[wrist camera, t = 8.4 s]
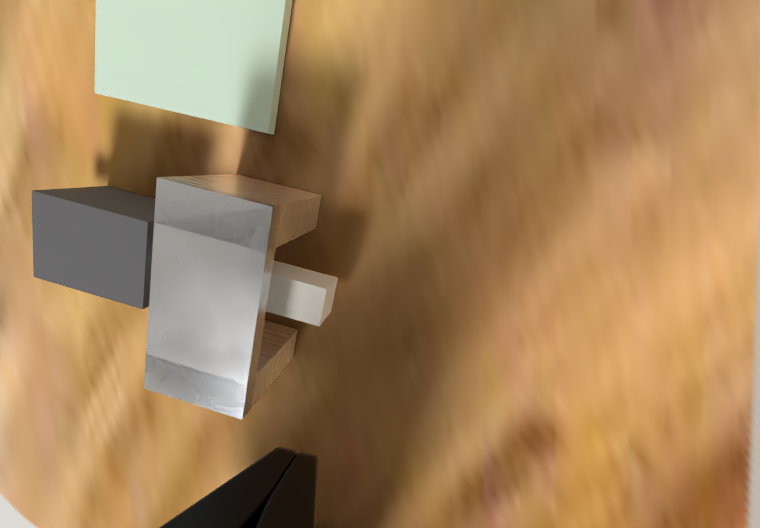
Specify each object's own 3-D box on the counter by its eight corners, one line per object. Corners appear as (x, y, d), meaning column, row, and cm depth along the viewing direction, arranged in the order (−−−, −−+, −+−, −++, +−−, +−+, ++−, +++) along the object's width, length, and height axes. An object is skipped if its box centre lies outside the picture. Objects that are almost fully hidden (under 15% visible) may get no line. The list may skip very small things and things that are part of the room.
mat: (106, 95, 17) (94, 92, 17) (111, -123, 15) (97, -134, 15) (274, 134, 17) (267, 133, 16) (304, -90, 14) (299, -101, 14)
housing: (217, 334, 19) (144, 388, 15) (236, 173, 17) (156, 177, 13) (292, 356, 19) (242, 419, 14) (321, 195, 17) (272, 206, 12)
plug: (92, 253, 20) (17, 271, 16) (93, 182, 19) (13, 185, 15) (334, 322, 18) (308, 358, 15) (349, 249, 17) (325, 269, 14)
